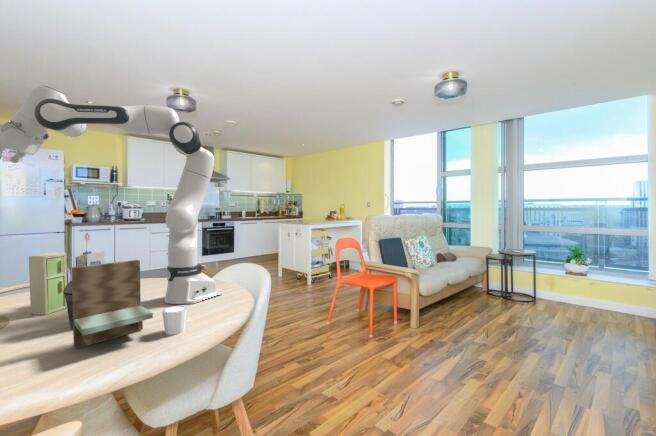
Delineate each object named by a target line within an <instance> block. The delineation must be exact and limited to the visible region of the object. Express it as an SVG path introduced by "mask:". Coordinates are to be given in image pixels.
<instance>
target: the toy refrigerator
mask: <svg viewBox="0 0 656 436" xmlns="http://www.w3.org/2000/svg"><path fill="white" fill-rule="evenodd" d="M28 267H29V268H28V271H29V273H28V274H29V296H30V298H29V299H30V300H29V301H30V303H29V304H30V314H31V315H38V316H39V315H40V316H47V315H49V314H53V313H56V312H59V311H62V310H65V309H67V303H66V299H65V296H64V290H65V287H66V285H67V284H68V277H67V274H68V273H67V271H68V269H67V253H66V252H46V253H45V252H44V253H40V254H31V255H29V256H28Z"/></svg>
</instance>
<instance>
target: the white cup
mask: <svg viewBox="0 0 656 436" xmlns="http://www.w3.org/2000/svg"><path fill="white" fill-rule="evenodd" d="M187 311H188V307H187V306H185V305H175V306H174V305H173V306H169V307H166V308H163V309H162V319H163V327H164V334H166V335H167V336H174V335H179V334H182V333H184V332H185V331H186V323H187Z"/></svg>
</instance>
